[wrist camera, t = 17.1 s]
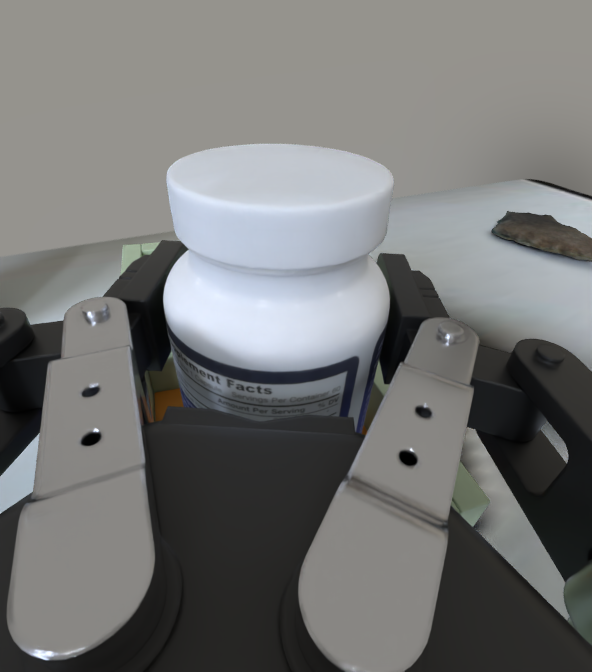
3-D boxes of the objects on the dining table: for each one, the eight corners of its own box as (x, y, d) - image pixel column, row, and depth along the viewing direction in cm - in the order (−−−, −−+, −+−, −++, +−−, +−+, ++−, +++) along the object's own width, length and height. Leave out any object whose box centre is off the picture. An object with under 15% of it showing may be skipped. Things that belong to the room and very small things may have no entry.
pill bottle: (268, 375, 17) (272, 128, 11) (380, 445, 14) (467, 169, 8) (161, 460, 13) (75, 158, 7) (284, 574, 11) (313, 249, 5)
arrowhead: (614, 278, 28) (626, 260, 27) (483, 237, 33) (489, 222, 32) (624, 250, 33) (634, 234, 32) (507, 218, 37) (513, 204, 36)
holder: (125, 671, 9) (92, 637, 8) (133, 288, 23) (122, 244, 22) (458, 548, 12) (492, 501, 10) (286, 271, 26) (288, 231, 24)
